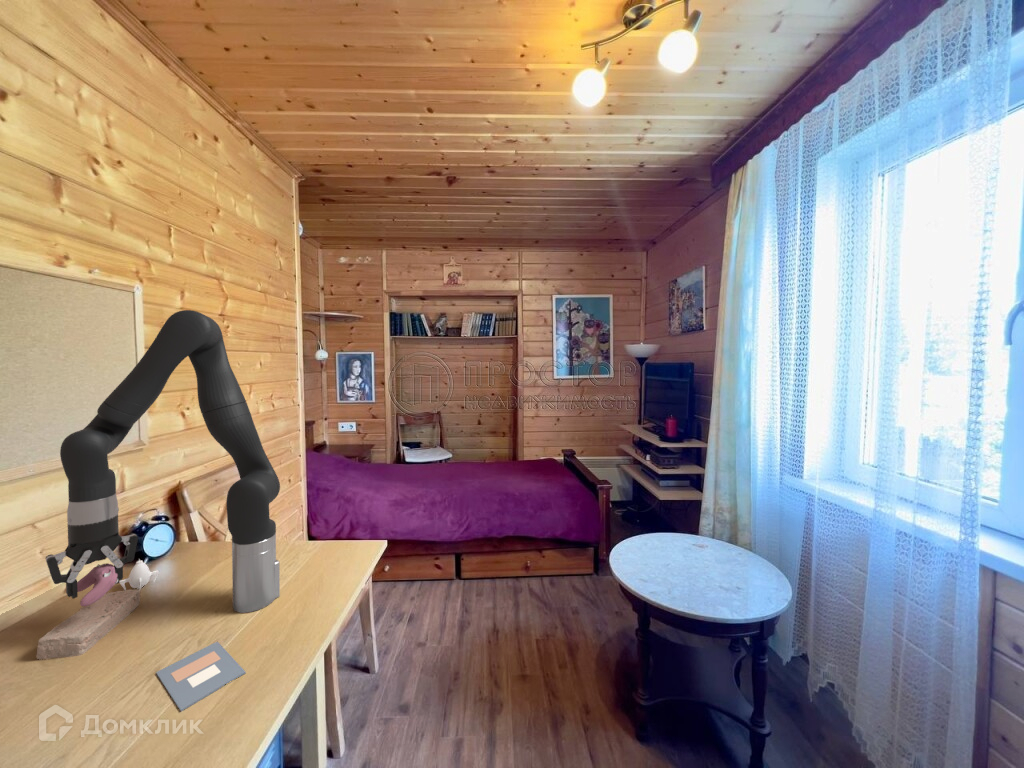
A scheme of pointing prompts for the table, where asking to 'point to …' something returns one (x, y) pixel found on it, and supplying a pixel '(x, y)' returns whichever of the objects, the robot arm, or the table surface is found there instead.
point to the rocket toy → (139, 576)
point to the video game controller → (97, 583)
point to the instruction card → (199, 675)
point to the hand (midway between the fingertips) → (95, 589)
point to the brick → (88, 625)
